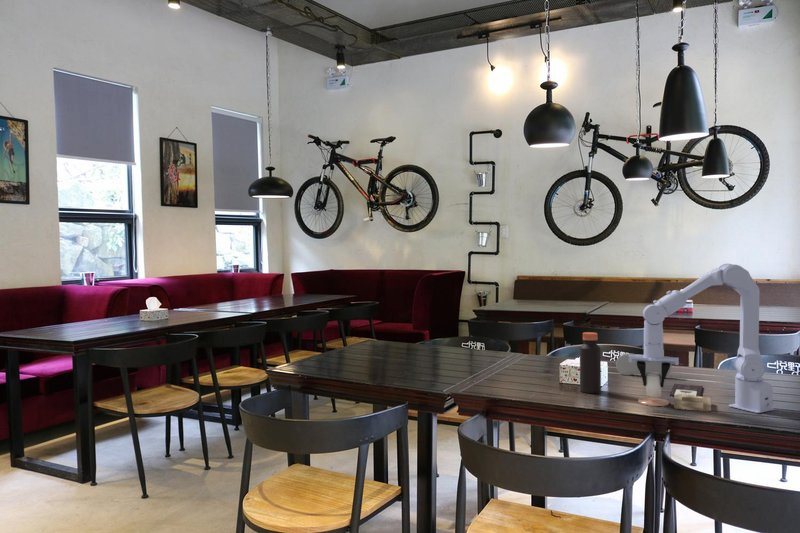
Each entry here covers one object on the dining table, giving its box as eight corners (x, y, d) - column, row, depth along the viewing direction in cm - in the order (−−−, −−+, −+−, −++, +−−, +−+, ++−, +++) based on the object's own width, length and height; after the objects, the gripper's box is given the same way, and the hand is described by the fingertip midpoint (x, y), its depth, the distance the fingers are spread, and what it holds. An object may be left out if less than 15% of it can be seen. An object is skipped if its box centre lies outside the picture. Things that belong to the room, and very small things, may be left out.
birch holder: (709, 403, 193) (709, 397, 193) (711, 411, 184) (711, 405, 184) (674, 400, 197) (674, 394, 197) (674, 408, 188) (674, 402, 188)
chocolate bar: (702, 386, 215) (700, 397, 199) (702, 388, 215) (700, 400, 199) (674, 383, 219) (669, 394, 203) (674, 386, 219) (669, 397, 203)
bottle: (600, 394, 207) (600, 334, 206) (579, 393, 209) (579, 334, 209) (601, 389, 213) (600, 332, 213) (580, 388, 216) (580, 331, 215)
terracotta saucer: (675, 404, 193) (675, 402, 193) (655, 407, 189) (655, 406, 189) (651, 397, 201) (651, 396, 201) (631, 401, 197) (631, 399, 197)
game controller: (671, 377, 231) (671, 355, 231) (670, 379, 229) (670, 356, 229) (616, 373, 240) (616, 352, 240) (615, 374, 238) (615, 353, 238)
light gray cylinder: (664, 395, 194) (663, 373, 194) (654, 397, 192) (654, 375, 192) (652, 393, 198) (652, 371, 198) (643, 394, 196) (642, 372, 196)
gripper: (627, 343, 194) (628, 386, 194) (678, 346, 188) (678, 390, 188) (629, 340, 200) (629, 382, 201) (678, 342, 194) (678, 385, 195)
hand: (653, 385), depth 195 cm, fingers closed on light gray cylinder, 4 cm apart
